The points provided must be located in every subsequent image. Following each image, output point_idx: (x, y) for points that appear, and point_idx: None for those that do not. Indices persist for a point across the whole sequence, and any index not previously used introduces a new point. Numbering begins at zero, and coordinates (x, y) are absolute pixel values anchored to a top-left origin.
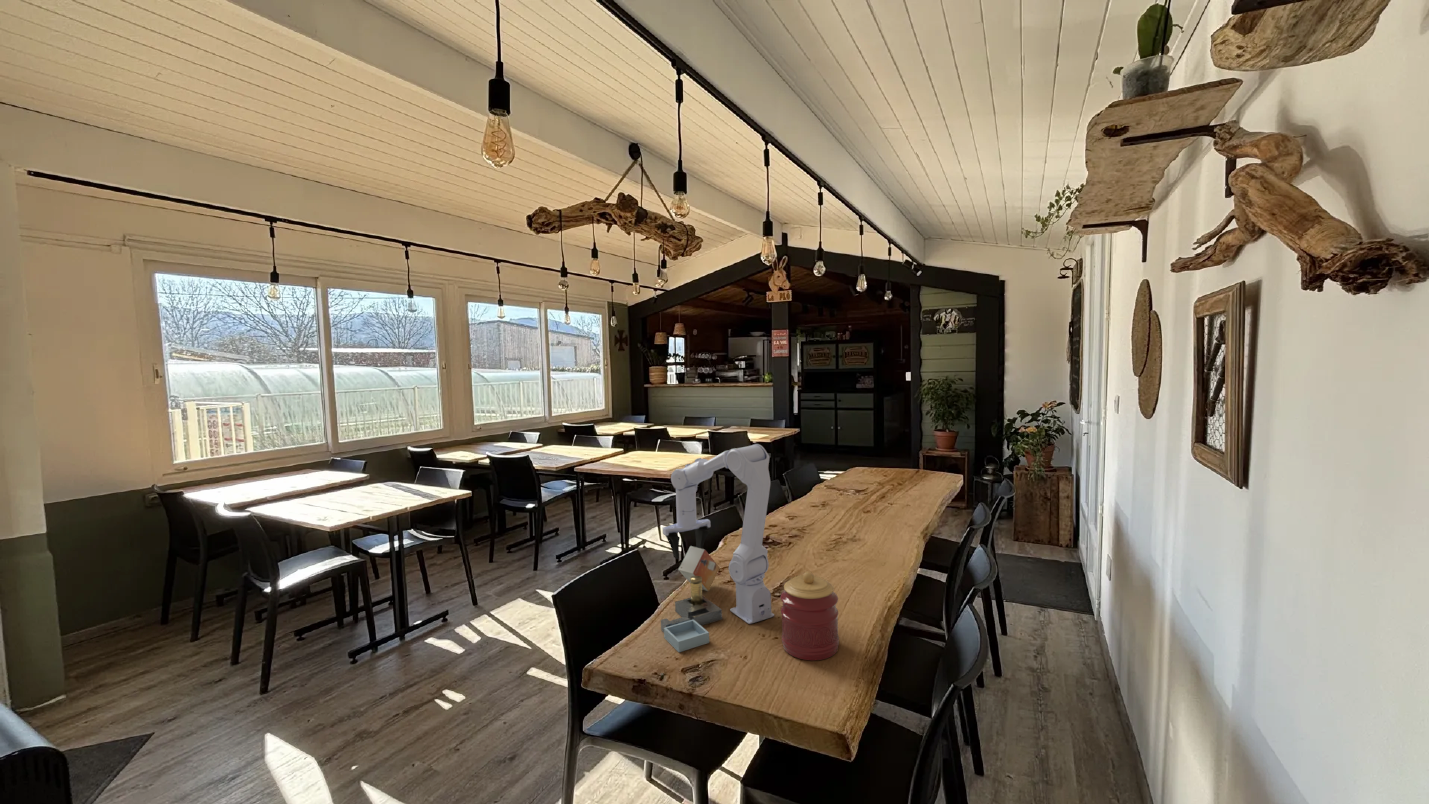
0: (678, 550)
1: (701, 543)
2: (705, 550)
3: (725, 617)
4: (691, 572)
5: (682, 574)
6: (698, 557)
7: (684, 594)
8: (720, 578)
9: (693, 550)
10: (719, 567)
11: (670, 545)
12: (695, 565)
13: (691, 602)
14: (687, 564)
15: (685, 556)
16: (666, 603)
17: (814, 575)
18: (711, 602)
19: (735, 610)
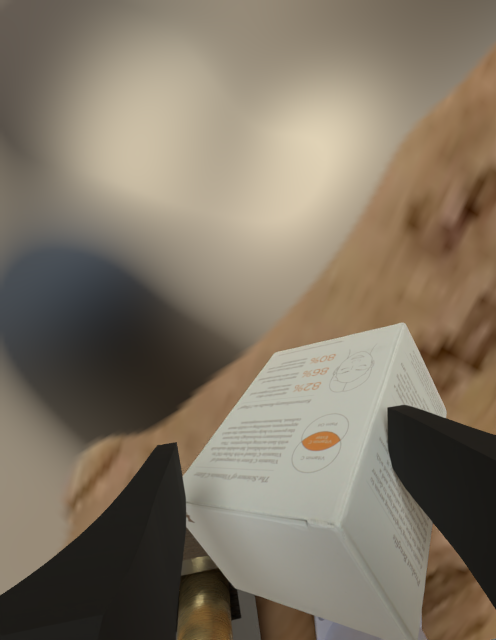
0: (178, 581)
1: (459, 549)
2: (415, 635)
3: (278, 634)
4: (231, 581)
5: (203, 452)
6: (323, 612)
7: (207, 401)
8: (428, 301)
9: (329, 570)
10: (444, 413)
11: (103, 515)
12: (272, 599)
13: (179, 599)
14: (231, 549)
15: (245, 516)
16: (101, 457)
17: None
18: (256, 625)
19: (327, 624)
